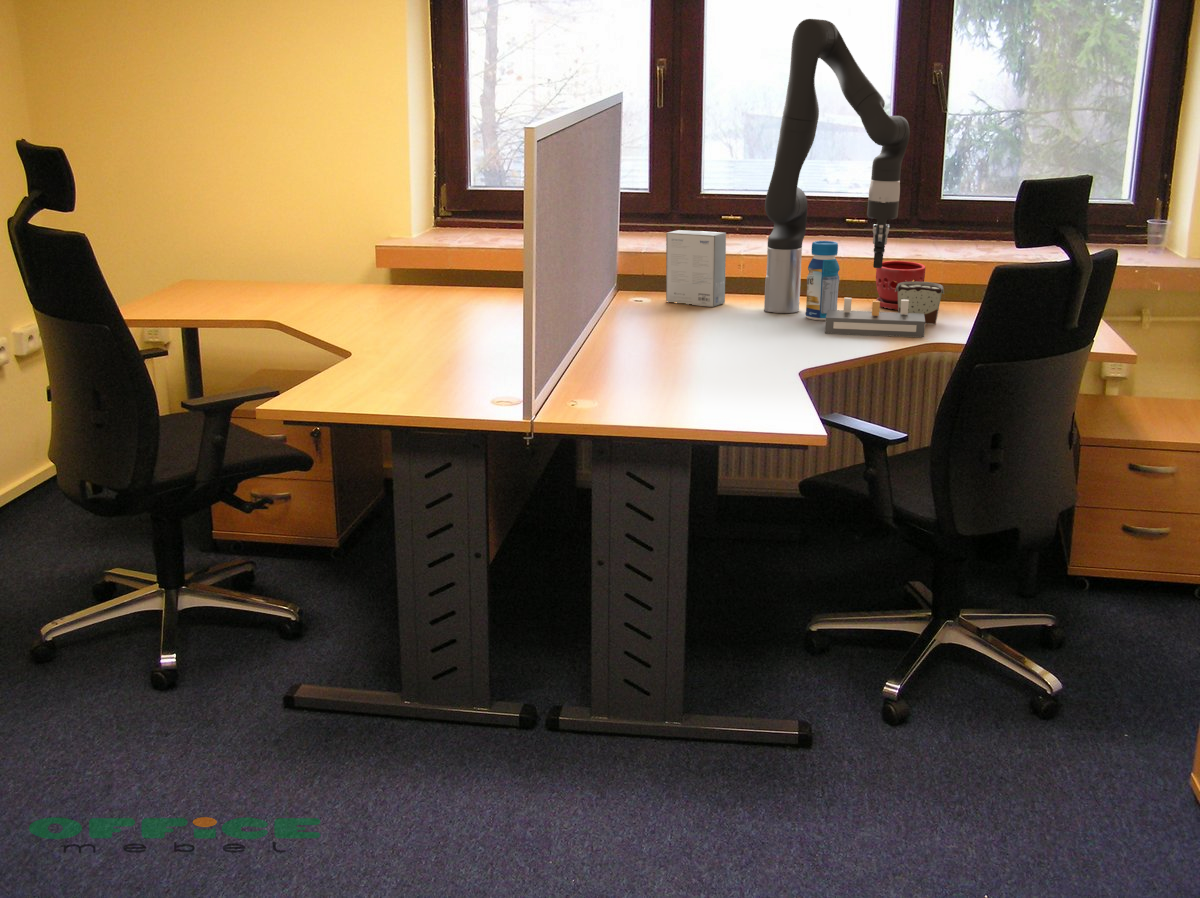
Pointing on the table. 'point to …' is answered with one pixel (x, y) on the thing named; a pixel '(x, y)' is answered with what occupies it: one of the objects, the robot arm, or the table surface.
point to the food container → (921, 298)
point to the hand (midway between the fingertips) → (877, 267)
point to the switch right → (904, 307)
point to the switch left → (847, 304)
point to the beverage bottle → (822, 280)
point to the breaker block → (875, 323)
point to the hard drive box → (695, 267)
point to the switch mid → (875, 308)
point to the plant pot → (898, 273)
